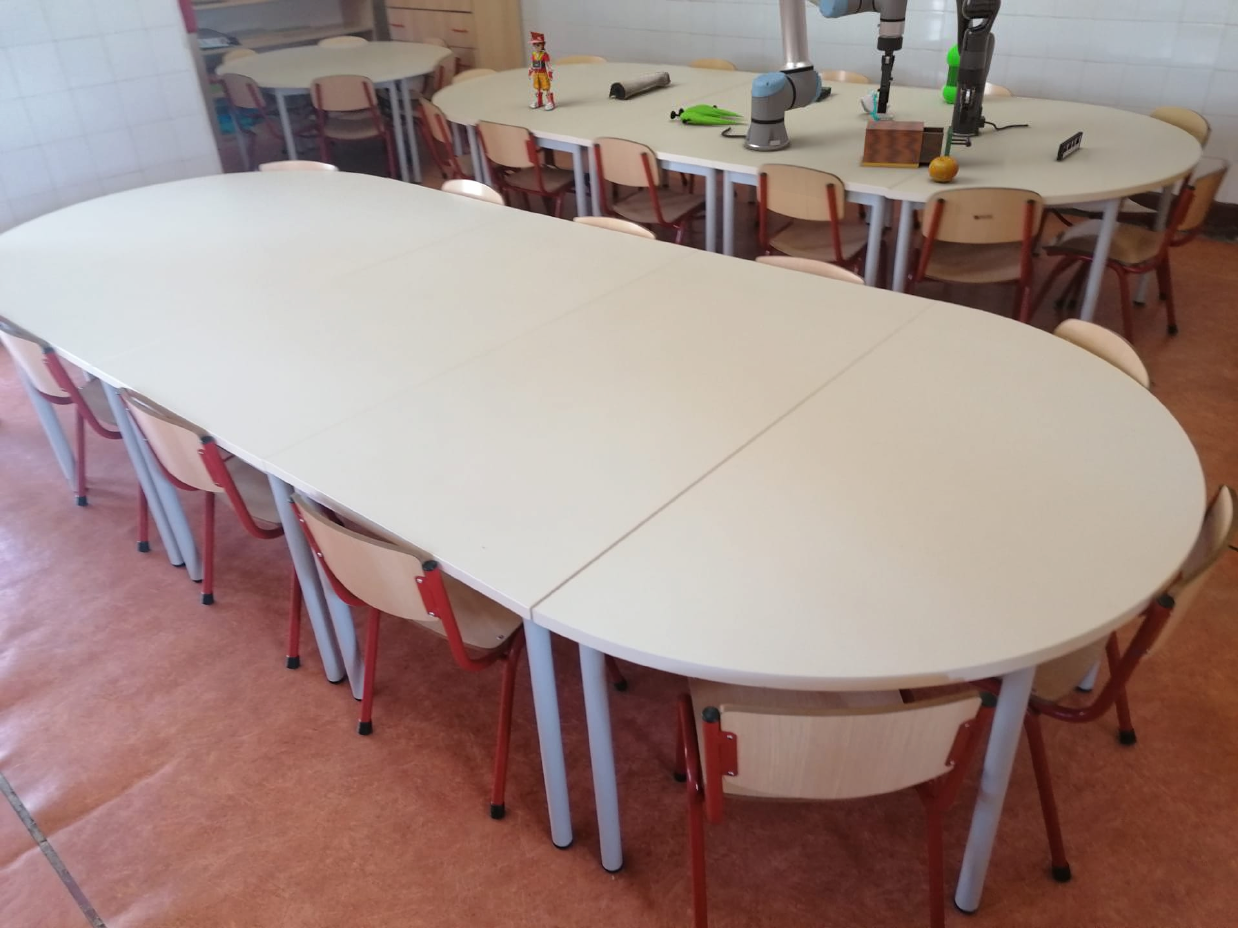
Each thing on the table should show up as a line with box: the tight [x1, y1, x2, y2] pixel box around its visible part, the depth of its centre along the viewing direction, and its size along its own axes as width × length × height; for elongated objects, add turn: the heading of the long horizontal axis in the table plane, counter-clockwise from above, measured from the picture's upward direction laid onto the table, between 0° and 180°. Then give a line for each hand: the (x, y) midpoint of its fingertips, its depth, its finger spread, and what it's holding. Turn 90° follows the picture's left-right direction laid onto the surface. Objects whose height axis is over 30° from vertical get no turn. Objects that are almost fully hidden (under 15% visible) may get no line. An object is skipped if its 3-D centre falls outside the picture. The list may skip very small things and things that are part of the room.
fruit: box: [928, 155, 959, 183], centre depth 276 cm, size 8×8×8 cm
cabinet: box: [861, 120, 925, 169], centre depth 293 cm, size 18×10×12 cm, turn 73°
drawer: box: [919, 125, 972, 164], centre depth 289 cm, size 23×9×10 cm, turn 73°
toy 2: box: [669, 104, 746, 125], centre depth 349 cm, size 28×5×30 cm
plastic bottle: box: [942, 43, 960, 104], centre depth 348 cm, size 10×10×25 cm
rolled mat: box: [608, 71, 672, 101], centre depth 395 cm, size 30×9×10 cm
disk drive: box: [815, 86, 832, 102], centre depth 372 cm, size 10×3×15 cm
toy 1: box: [527, 31, 556, 111], centre depth 374 cm, size 12×9×30 cm
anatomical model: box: [860, 90, 895, 121], centre depth 340 cm, size 15×10×10 cm
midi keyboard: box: [1056, 131, 1084, 161], centre depth 291 cm, size 18×1×5 cm, turn 138°
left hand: (882, 108), depth 288 cm, fingers open, 13 cm apart
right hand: (962, 124), depth 283 cm, fingers closed
